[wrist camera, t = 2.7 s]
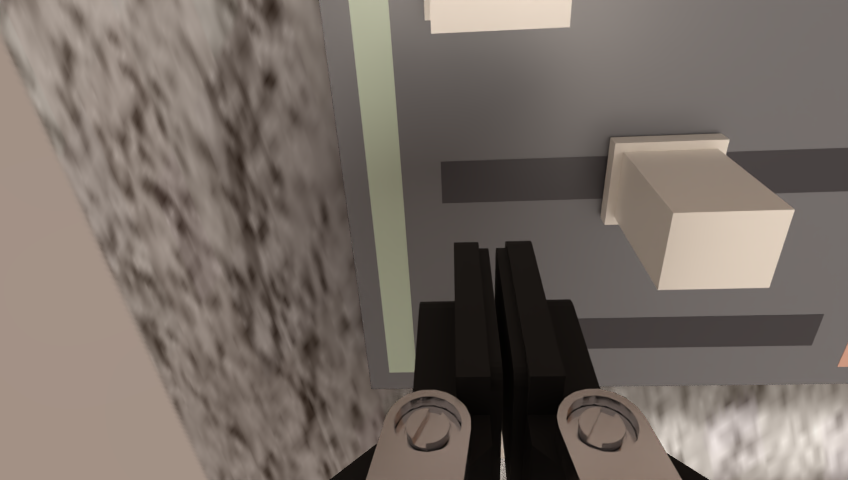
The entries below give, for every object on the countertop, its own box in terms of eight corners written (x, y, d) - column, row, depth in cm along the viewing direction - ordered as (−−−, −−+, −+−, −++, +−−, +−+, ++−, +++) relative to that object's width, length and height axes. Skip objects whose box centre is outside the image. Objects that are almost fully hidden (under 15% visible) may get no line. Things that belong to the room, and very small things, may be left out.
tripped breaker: (702, 214, 19) (777, 296, 15) (600, 217, 19) (644, 299, 15) (721, 133, 18) (811, 198, 13) (610, 137, 18) (663, 202, 14)
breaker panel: (849, 351, 25) (880, 383, 23) (376, 358, 26) (371, 389, 24) (1098, -201, 15) (1187, -219, 13) (313, -149, 16) (297, -159, 14)
